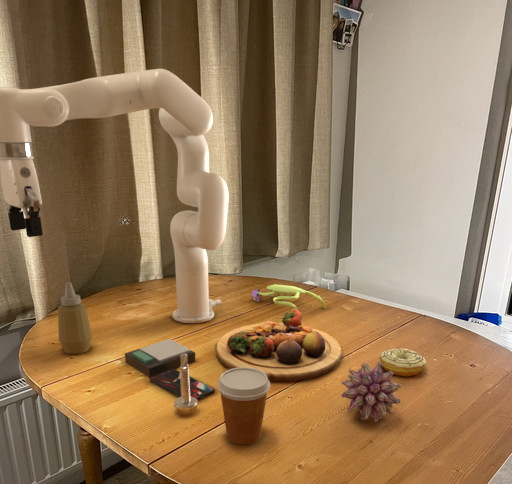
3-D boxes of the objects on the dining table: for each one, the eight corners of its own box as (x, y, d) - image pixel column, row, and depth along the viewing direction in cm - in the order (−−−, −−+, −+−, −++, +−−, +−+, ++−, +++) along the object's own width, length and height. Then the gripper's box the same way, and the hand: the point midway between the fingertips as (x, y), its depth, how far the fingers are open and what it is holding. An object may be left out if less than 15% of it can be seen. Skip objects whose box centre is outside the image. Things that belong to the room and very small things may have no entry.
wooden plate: (262, 321, 148) (263, 295, 145) (362, 348, 131) (365, 319, 128) (189, 358, 124) (188, 328, 121) (300, 397, 107) (301, 362, 104)
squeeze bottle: (83, 358, 124) (74, 288, 117) (54, 355, 125) (43, 286, 119) (99, 345, 131) (92, 279, 124) (71, 342, 133) (62, 277, 126)
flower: (381, 407, 107) (414, 426, 95) (329, 413, 103) (357, 433, 92) (383, 354, 105) (416, 367, 93) (330, 358, 101) (359, 372, 90)
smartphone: (172, 368, 118) (216, 389, 108) (172, 370, 118) (216, 391, 108) (147, 378, 113) (191, 401, 103) (147, 381, 113) (191, 404, 103)
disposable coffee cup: (217, 421, 98) (216, 366, 93) (266, 420, 98) (267, 365, 94) (218, 451, 89) (217, 391, 84) (271, 449, 90) (273, 390, 85)
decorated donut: (432, 368, 121) (434, 354, 120) (411, 383, 114) (414, 368, 112) (393, 355, 127) (394, 341, 126) (371, 368, 120) (373, 354, 119)
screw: (202, 407, 103) (191, 419, 98) (180, 403, 104) (169, 415, 100) (200, 350, 98) (189, 360, 94) (178, 346, 99) (166, 356, 95)
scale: (169, 347, 130) (169, 336, 129) (195, 361, 123) (195, 349, 122) (125, 362, 122) (124, 350, 121) (149, 377, 114) (148, 365, 113)
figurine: (283, 321, 149) (283, 303, 147) (241, 296, 171) (241, 280, 169) (332, 311, 157) (334, 294, 155) (287, 288, 179) (288, 273, 177)
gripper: (48, 153, 102) (59, 236, 108) (17, 149, 113) (28, 225, 120) (9, 154, 97) (23, 241, 103) (-19, 150, 109) (-5, 229, 115)
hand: (26, 232), depth 111 cm, fingers open, 9 cm apart
